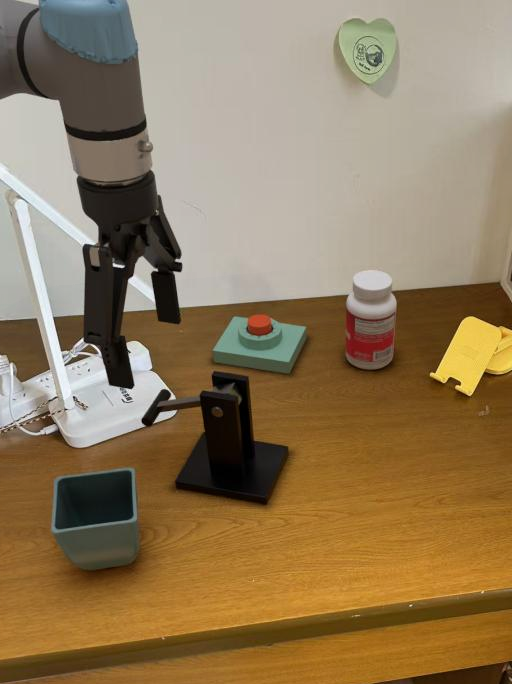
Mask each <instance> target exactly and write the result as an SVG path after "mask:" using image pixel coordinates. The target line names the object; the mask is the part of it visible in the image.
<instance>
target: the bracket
mask: <svg viewBox="0 0 512 684" xmlns="http://www.w3.org/2000/svg"><path fill="white" fill-rule="evenodd" d="M210 377H211V383H212V384H211V385H212V389H213V388H214V386H216V385H222V384H229V383H235V384H236V386H237V388H238V390H239V392H240V394H241V396H242V400H241V402H240V404H238V396H235V395H229V394H223V393H217V392H211V391H209V390H201V391H200V393H199V396H200V402H201V407H200V408H201V409H200V410H201V416H202V422H203V429H204V431H203V432H202V433H201V435H200V437H199V438H198V440H197V442H196V444H195V445H194V447H193V448H192V451H191V453H190V454H189V456H188V457H187V459H186V461H185V463H184V465H183V467H182V468H181V470H180V472H179V474H178V475H177V476H176V478H175V480H174V483H175V488H176V489H178V490H184V491H190V492H194V493H201V494H206V495H211V496H216V497H223V498H228V499H234V500H239V501H244V502H245V501H246V502H250V503H251V502H252V503H255V504H256V503H257V504H262V505H267V504H268V502H269V500H270V498H271V495H272V492H273V490H274V488H275V486H276V484H277V482H278V479H279V476H280V475H281V472H282V469H283V467H284V465H285V462H286V460H287V458H288V456H289V453H290V452H289V446H288V445H283V444H277V443H271V442H265V441H259V440H255V435H254V423H253V411H252V401H251V390H250V389H251V387H250V376H249V375H244V374H238V373H232V372H226V371H225V372H224V371H218V370H213V372H212V374H211V375H210Z"/></svg>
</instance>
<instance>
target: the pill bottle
mask: <svg viewBox="0 0 512 684" xmlns="http://www.w3.org/2000/svg"><path fill="white" fill-rule="evenodd" d="M392 291H393V279H392V277H391V275H389V274H388V273H387V272H384V271H381V270H376V269H367V270H362V271H359V272H357V273H356V274H355V275H353V278H352V291H351V292H350V294H348V296H347V298H346V301H345V302H346V303H345V305H346V306H345V312H346V313H345V345H344V346H345V348H344V349H345V358H346V360H347V362H348V363H350V364H351V365H352V366H354V367H356V368H358V369H361V370H368V371H371V370H372V371H373V370H379V369H382V368H385V367H386V366H388V365H389V364H390V363H391V362H392V361H393V358H394V352H395V339H396V338H395V335H396V323H397V322H396V321H397V307H398V306H397V305H398V301H397V299H396V297H395V295H394V294H393V292H392Z"/></svg>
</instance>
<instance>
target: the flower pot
mask: <svg viewBox="0 0 512 684" xmlns="http://www.w3.org/2000/svg"><path fill="white" fill-rule="evenodd" d="M136 475H137V474H136V469H135V468H134V467H122V468H114V469H109V470H100V471H92V472H84V473H76V474H68V475H61V476H57V477H56V478H54V480H53V495H52V497H53V499H52V512H51V513H52V514H51V525H50V531H51V534H52V535H53V537H54V539H55V541H56V543H57V545H58V546H59V548H60V550H61V552H62V553H63V555H64V557H65V558H66V559H67V561H69V562H70V563H71V564H72V565H74V566H76V567H77V568H80V569H82V570H85V571H96V570H101V569H108V568H115V567H122V566H124V567H125V566H129V565H131V564H132V563H133V562H134V561H135V560H136V559H137V557H138V555H139V551H140V546H141V544H140V543H141V542H140V523H139V501H138V488H137V487H138V486H137V476H136Z"/></svg>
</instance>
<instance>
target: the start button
mask: <svg viewBox="0 0 512 684" xmlns="http://www.w3.org/2000/svg"><path fill="white" fill-rule="evenodd" d="M248 318H249V319H248V321H247V323H248V332H249V334H251V335H255V336H263V335H267V334H269V333H271V331H272V327H271V319H270V318H271V317H270V316H268V315H266V314H254V315H251V316H249V317H248Z"/></svg>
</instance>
